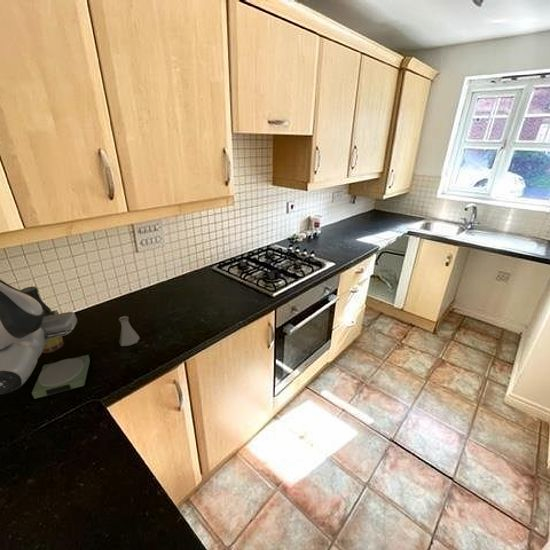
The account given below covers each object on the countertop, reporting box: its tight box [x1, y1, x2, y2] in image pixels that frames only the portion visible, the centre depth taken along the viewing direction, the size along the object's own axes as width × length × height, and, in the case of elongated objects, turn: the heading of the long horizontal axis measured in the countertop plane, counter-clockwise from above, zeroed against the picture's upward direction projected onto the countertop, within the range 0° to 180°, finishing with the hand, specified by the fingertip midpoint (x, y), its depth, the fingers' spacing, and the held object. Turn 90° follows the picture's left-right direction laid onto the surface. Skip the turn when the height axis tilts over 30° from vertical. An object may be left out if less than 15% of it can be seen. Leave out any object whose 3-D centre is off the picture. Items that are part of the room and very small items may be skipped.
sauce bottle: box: [19, 286, 64, 354], centre depth 87 cm, size 6×6×20 cm
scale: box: [31, 354, 91, 400], centre depth 96 cm, size 13×14×3 cm
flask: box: [118, 315, 140, 347], centre depth 112 cm, size 7×7×10 cm
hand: (40, 315), depth 88 cm, fingers closed on sauce bottle, 6 cm apart
